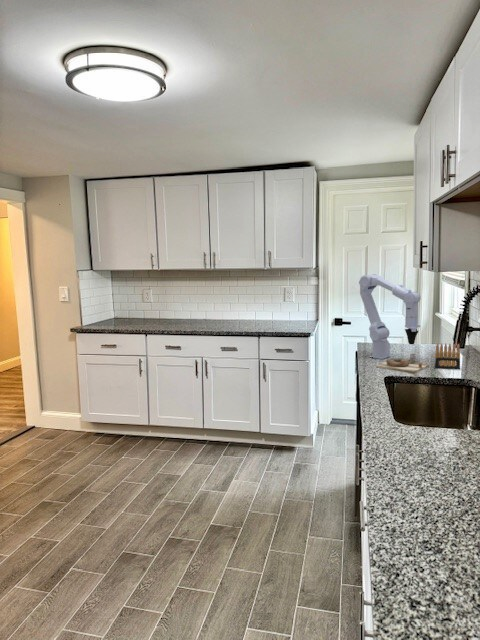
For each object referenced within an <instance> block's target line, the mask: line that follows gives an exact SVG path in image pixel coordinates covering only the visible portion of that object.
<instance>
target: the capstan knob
mask: <svg viewBox="0 0 480 640" xmlns="http://www.w3.org/2000/svg"><path fill="white" fill-rule="evenodd" d="M415 354H416V353H410V356H409V359H405V358H389V359H387V360H386V361H387V365H390V366H397V367H402V366H408V365H409V362H411V363H414V362H415V357H416V356H415ZM415 363H416V362H415Z"/></svg>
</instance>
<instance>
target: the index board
mask: <svg viewBox="0 0 480 640" xmlns="http://www.w3.org/2000/svg"><path fill="white" fill-rule="evenodd" d="M375 367H376V368H377V369H383V370H391V371H396V372H397V371H398V372H402V373H408V374H416V373H418V372H421V371H422V370H426V369H427V368H430V364H427V363H423V362H414V363H411V362H409V365H408V366H402V367H397V366H390V365H387V360H386V361H383V362H381V363H378V364H376V365H375Z"/></svg>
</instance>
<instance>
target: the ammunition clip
mask: <svg viewBox="0 0 480 640" xmlns="http://www.w3.org/2000/svg"><path fill="white" fill-rule="evenodd" d="M435 346H436V347H435V351H434V352H435V353H434V356H435V357H434V359H435V360H434V369H439V370H442V369H443V370H461V352H460V351H461V350H460V348H461V346H460V344H459V343H457V345H456V344H455V343H453V345H451V343H449V344H448V346H447V342H446V343H445V344H444V345H443V343H442V342H441V343H440V346H439V343H438V342H437V343H436V345H435Z"/></svg>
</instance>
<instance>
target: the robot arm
mask: <svg viewBox="0 0 480 640" xmlns="http://www.w3.org/2000/svg"><path fill="white" fill-rule="evenodd" d="M358 284H359V295H360V297H361V300H362V303H363V306H364V309H365V312H366V314H367V317H368V320H369V323H370V325H369V328H368V330H369V338H370V339H371V341H372V344H371V345H372V349H371V351H372V354H371V355H369V356H368V357H369V358H372V357H373V359H380V360H383V359H386V358H389V357H392V354H391V350H390V349H391V343H390V342H389V340H388V338H389V336H390V329H389V328H388V327H387V326H386V323H385V322H383V321H382V320H381V317H380V315H379V311H378V309H377V306H376V303H375V300H374V297H373V295H372V293H373V292H374V289H375V288H376V287H378V286H379V287H381V288H383V289H386V290H387V291H389V292H391V293H392V296H394V297H396V298H398V299H400V300H402V301H403V303H404V305H405V306H404V307H405V319H404V321H405V324H404V332H405V333H406V336H407V337H406V338H407V343H408V344H409V345H415V342H416V339H417V335H418V333H419V330H418V328H421V324H420V325H419V322H418V321H419V303H420V302H421V295H420V293H419V292H418V291H412V289H408V288H406V287H404V285H403V284H396V285H395V284H393V283H392V282H390V281H388V280H387V279H385V278H383V277H382V276H381V275H378V274H376V273H373V274H364V275H362V276H361V277H360V278H359V281H358Z"/></svg>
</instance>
